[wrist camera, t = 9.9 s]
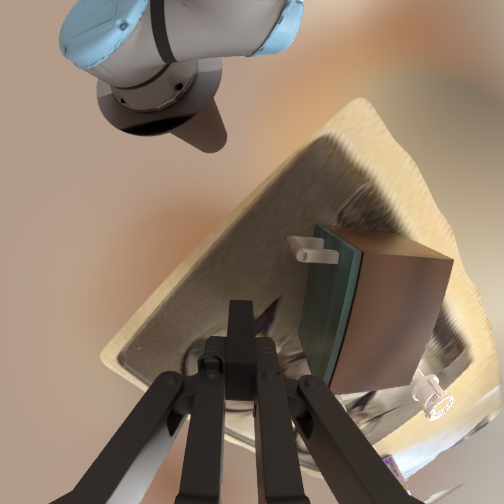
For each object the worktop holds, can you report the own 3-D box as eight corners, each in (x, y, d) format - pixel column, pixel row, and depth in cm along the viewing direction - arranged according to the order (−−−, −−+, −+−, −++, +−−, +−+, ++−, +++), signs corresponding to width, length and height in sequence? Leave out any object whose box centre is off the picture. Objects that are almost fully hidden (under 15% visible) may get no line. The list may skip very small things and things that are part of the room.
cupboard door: (269, 334, 47) (279, 396, 32) (283, 221, 42) (306, 247, 27) (303, 335, 48) (324, 395, 32) (322, 225, 42) (362, 251, 27)
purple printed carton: (398, 467, 68) (412, 499, 51) (386, 473, 69) (399, 505, 52) (392, 452, 63) (409, 489, 46) (379, 459, 64) (394, 497, 47)
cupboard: (304, 335, 48) (326, 395, 32) (322, 225, 42) (364, 252, 27) (372, 333, 48) (409, 384, 33) (396, 233, 43) (454, 259, 28)
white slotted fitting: (405, 365, 52) (435, 407, 37) (428, 357, 52) (460, 395, 37) (398, 386, 53) (425, 428, 39) (421, 379, 54) (449, 416, 39)
